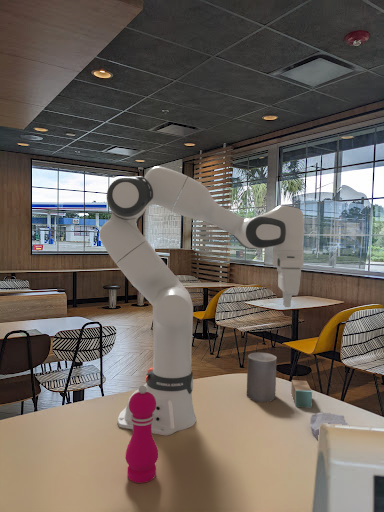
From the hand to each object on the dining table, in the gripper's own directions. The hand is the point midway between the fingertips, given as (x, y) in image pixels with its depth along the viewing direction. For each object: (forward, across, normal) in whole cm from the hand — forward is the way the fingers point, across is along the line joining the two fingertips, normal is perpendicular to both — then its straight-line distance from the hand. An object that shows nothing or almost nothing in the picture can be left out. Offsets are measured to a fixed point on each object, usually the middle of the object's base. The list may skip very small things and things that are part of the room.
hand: (286, 306), depth 115 cm
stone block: (+34, +8, +11) cm, 36 cm away
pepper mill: (+33, +35, -35) cm, 60 cm away
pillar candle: (+33, -14, -6) cm, 37 cm away
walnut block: (+31, -7, +7) cm, 32 cm away
